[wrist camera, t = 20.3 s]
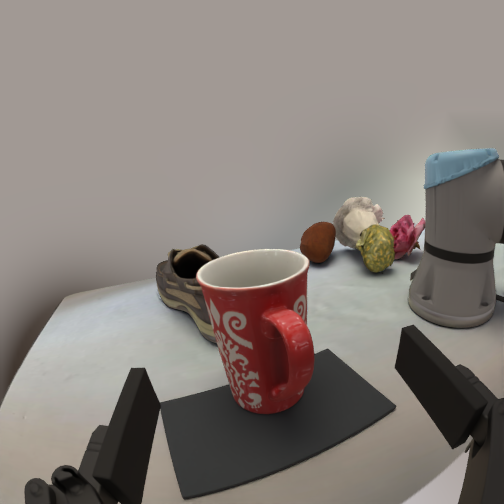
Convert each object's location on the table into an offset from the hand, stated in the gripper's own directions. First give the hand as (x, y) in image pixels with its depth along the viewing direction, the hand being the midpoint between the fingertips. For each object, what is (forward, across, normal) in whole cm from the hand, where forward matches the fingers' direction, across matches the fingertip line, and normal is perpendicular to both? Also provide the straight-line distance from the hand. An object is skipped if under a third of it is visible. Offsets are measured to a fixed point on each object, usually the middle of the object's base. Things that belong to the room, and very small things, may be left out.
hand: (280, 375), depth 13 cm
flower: (+43, +35, -12) cm, 56 cm away
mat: (+8, 0, -12) cm, 14 cm away
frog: (+49, +21, -12) cm, 55 cm away
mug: (+9, 0, -12) cm, 15 cm away
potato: (+46, +19, -8) cm, 50 cm away
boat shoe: (+33, -8, -12) cm, 36 cm away
